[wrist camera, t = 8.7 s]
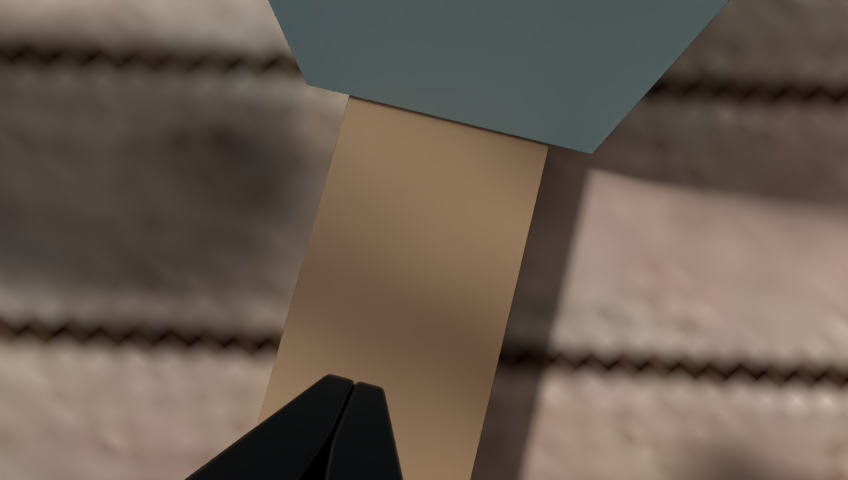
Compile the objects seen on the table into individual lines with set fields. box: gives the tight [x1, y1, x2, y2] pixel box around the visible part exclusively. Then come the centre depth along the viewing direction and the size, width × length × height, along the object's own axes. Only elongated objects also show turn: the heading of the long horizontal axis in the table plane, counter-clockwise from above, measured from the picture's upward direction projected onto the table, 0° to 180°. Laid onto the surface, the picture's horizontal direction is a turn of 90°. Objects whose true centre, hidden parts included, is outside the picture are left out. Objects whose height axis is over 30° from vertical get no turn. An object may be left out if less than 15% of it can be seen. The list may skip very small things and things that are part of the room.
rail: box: [257, 95, 549, 480], centre depth 16 cm, size 24×5×2 cm, turn 166°
